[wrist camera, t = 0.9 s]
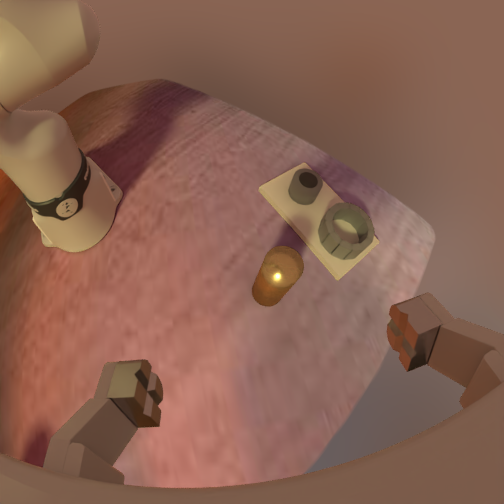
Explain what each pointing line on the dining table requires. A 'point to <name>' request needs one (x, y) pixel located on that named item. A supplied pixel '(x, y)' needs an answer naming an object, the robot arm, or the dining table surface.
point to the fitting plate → (321, 218)
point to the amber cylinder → (277, 275)
